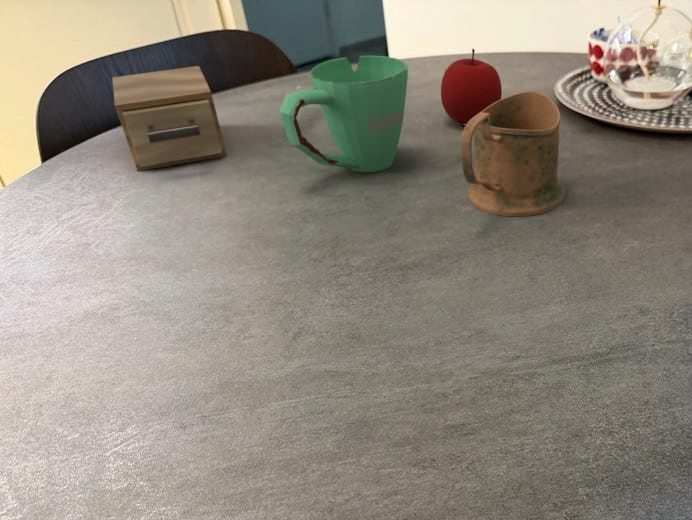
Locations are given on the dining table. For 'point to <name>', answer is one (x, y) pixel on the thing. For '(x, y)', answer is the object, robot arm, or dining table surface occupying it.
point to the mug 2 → (514, 156)
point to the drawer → (172, 132)
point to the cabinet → (163, 100)
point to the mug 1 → (354, 111)
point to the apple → (469, 88)
